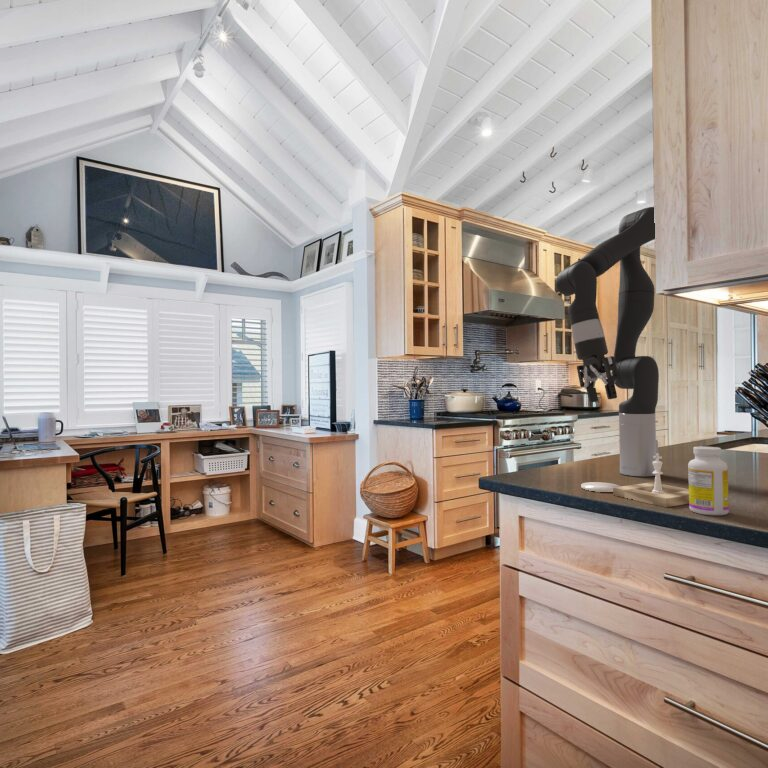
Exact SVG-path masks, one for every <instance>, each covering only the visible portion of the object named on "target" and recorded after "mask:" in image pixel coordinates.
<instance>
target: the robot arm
mask: <svg viewBox="0 0 768 768" xmlns="http://www.w3.org/2000/svg"><path fill="white" fill-rule="evenodd" d="M654 207H655V206H648V207H645V208H641V209H639V210H636V211H633V212H630V213H629V214H626V215H625V216H623V217H622V218H621V220H620V223H619V225H618V234H616V235H614V236H612V237H610V238H608V239H606V240H604V241H602V242H601V243H599V244H598V245H596V246H595V247H593V248H592V249H591V250H590V251H588V252H587V253H586V254H585V255H583V256H582V257H581V258H580V259H579V260H577V261H575V262H573V263H572V264H570V265H569V266H567V267H566V268H564V269H563V270H561V271H560V272H559V273H558V275H557V276H556V278H555V288H556V289H557V292H559V293H560V294H561V295H564V296H573V295H574V299H573V301H572V302H571V303H570V304H569V305H568V307H567V312H568V317H569V321H570V322H569V323H570V326H571V335H572V340H573V344H574V349H575V352H576V357H577V358H576V359H577V360H579V361H582V364H580V365H577V366H576V371H577V376H578V380H579V381H578V383H579V385H580V388H584V389H585V390H586V393H587V398H588V402H589V403H594V402H595V403H596V402H598V401H599V397H598V394H597V389H596V386H595V385H596V383H597V381H598V379H599V380H601V381H602V383H603V384H604V389H605V393H606V398H607V400H613V399H614V400H615V399H617V398H618V395H617V389H616V387H617V388H619V389H621V390H622V389H623V390H632V395H631V396H630V397H629V398H628V399H626V400H623V401H622V402H619V404H618V425H619V426H618V428H619V429H618V431H619V433H618V434H619V435H618V436H619V474H621V475H624V476H631V477H654V476H655V474H653V471H655V468H654V465H653V461H656V458H653V456H656V453H659V442H658V440H657V436H656V435H657V430H656V429H657V424H656V422H657V421H656V408H657V406H658V405H657V404H658V401H659V381H660V380H659V377H660V376H659V375H660V374H659V367H658V362H657V361H656V360H655V359H654V358H653V357H652V356H648V355H637V356H636V352H637V345H638V341H639V338H640V336H641V334H642V333H643V330H644V329H645V328H646V327H647V324H648V323H649V321H650V319H651V317H652V315H653V313H654V310H655V309H654V308H655V293H656V291H655V285H654V282H653V280H652V278H651V277H650V275H649V274H648V273H647V271H646V269H645V268H644V267H643V264H642V260H641V247H642V246H643V245H645V244H647V243H649V242H651V241H654V240H656V239H655V223H654ZM618 263H619V290H618V303H617V308H618V310H617V326H616V338H615V339H616V340H615V343H614V344H615V346H614V351H613V356H612V355H610V356H605V355H608V353H609V349H608V346H607V341H606V337H605V332H604V329H603V324H602V323H601V320H600V316H599V312H598V307H597V294H598V293H597V292H598V291H597V289H598V288H597V287H598V277H600V276H602V275H603V274H605V273H606V272H607V271H609V270H610V269H611V268H612V267H614V266H615V265H616V264H618Z"/></svg>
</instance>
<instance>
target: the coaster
mask: <svg viewBox="0 0 768 768" xmlns="http://www.w3.org/2000/svg"><path fill="white" fill-rule="evenodd" d="M614 487H621V485H619V484H615V483H611V482H601V481H590V482H589V481H588V482H582V483H581V485H580V488H581V489H582V488H583V489H585V490H584V491H586V490H589V491H588V492H591V491H595V492H594V493H600V492H613V488H614ZM583 489H582V490H583Z"/></svg>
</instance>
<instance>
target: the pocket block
mask: <svg viewBox="0 0 768 768" xmlns="http://www.w3.org/2000/svg"><path fill="white" fill-rule="evenodd" d="M654 484H655V482H653V481H650V482H643V483H638V484H636V483H635V484H630V485H623V486H621V485H620V486H621V487H614V488H613V493H612V495H615V496H614V497H618V496H620V497H619V498H622V497H624V498H623V499H627V498H628V500H631V499H633V500H632V501H636V502H640V503H645V504H649V505H654V506H659V507H663V508H670V507H677V506H682V505H688V504H689V488H684V487H679V486H674V485H668V484H662V483H661V485H662V490H663V491H664V492H663V493H666V494H658V493H653V491H652V490H654Z"/></svg>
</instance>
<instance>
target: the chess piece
mask: <svg viewBox="0 0 768 768" xmlns="http://www.w3.org/2000/svg"><path fill="white" fill-rule="evenodd" d="M653 458H656V461H653V465H654V468H655V471H653V474H655V477H654V483H655V484H654V490H652V491H653V493H658V494H666V493H663V492H664V491H663V490H662V485H661V484H662V480H661V475H664V473H663V471H661V469H662V466H663V464H664V463H663V461H660V460H661V459H663V456H661V455H660V453H659V452H658V453H656V456H653Z"/></svg>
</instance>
